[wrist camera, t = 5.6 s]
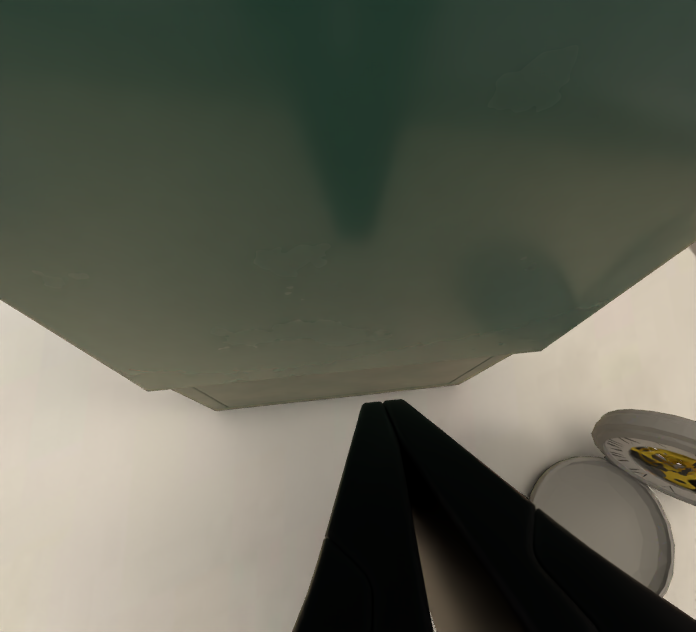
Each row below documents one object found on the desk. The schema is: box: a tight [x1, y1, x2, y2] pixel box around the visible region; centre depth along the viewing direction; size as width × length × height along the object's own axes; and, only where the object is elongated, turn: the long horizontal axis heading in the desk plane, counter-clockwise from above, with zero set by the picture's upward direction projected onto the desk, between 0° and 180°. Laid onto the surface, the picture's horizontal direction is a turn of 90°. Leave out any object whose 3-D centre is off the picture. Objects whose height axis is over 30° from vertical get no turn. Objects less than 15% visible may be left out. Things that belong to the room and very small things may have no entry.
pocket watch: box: [529, 409, 696, 598], centre depth 15 cm, size 8×8×10 cm
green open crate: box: [171, 354, 512, 411], centre depth 19 cm, size 14×13×8 cm
